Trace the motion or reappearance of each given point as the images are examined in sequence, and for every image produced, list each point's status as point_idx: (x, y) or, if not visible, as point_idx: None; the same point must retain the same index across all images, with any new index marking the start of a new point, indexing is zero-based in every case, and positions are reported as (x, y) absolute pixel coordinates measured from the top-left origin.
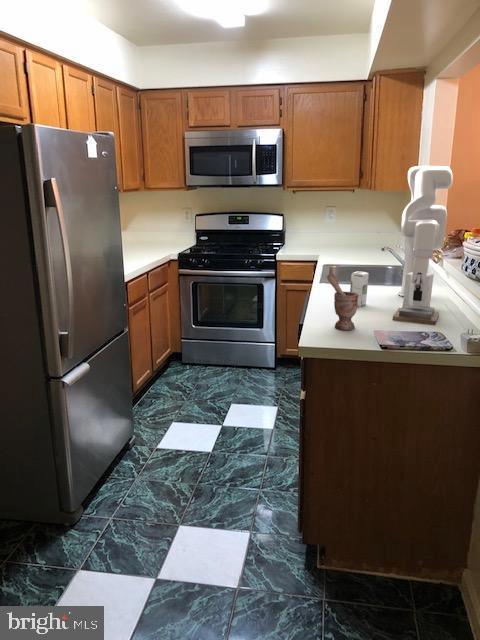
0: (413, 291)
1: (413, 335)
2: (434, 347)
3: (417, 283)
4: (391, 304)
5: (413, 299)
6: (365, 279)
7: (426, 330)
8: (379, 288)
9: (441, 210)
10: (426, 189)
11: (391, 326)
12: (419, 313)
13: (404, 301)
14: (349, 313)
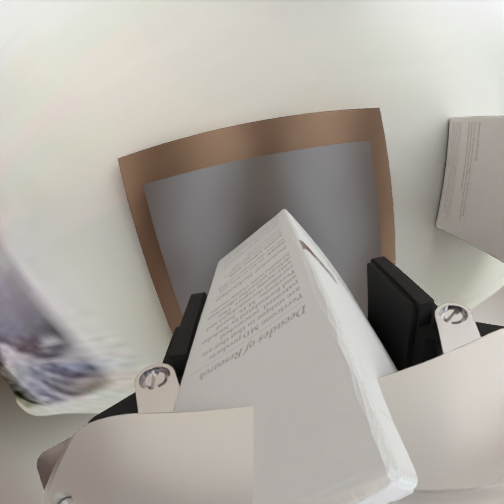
0: (196, 336)
1: (18, 318)
2: (5, 373)
3: (47, 467)
4: (465, 61)
5: (192, 301)
6: None
7: (90, 345)
8: None
9: None
10: None
11: (34, 211)
12: (182, 311)
13: (471, 125)
14: None
